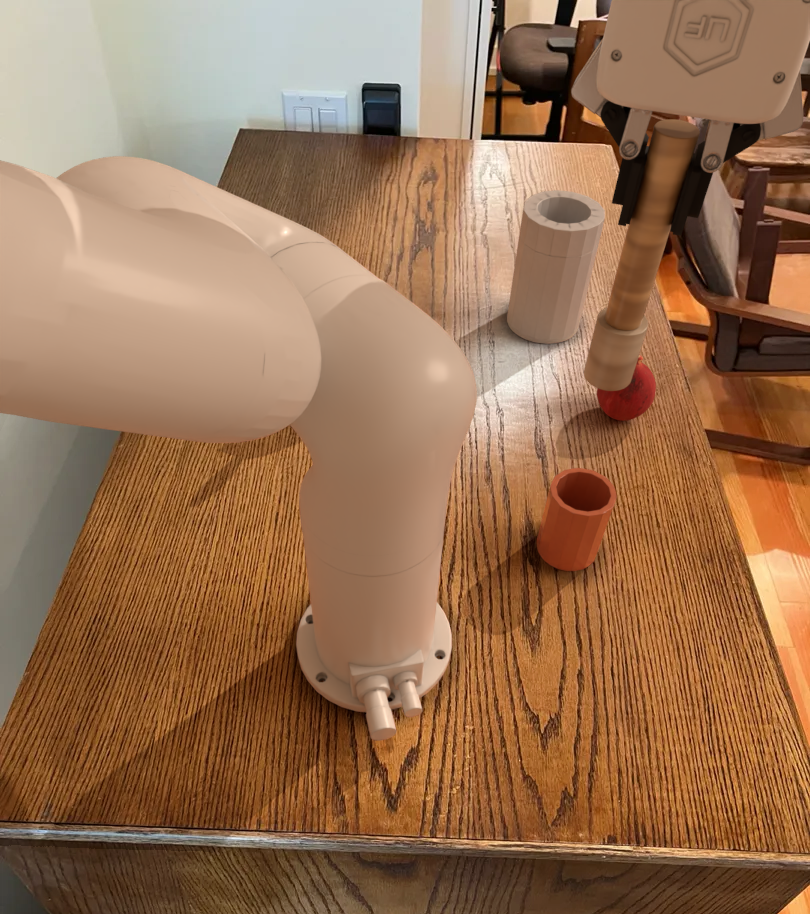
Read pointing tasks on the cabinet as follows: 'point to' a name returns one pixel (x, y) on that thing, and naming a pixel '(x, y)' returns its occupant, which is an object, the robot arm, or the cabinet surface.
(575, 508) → the holder
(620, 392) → the onion
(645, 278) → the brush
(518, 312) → the white hollow cylinder
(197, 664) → the cabinet surface
